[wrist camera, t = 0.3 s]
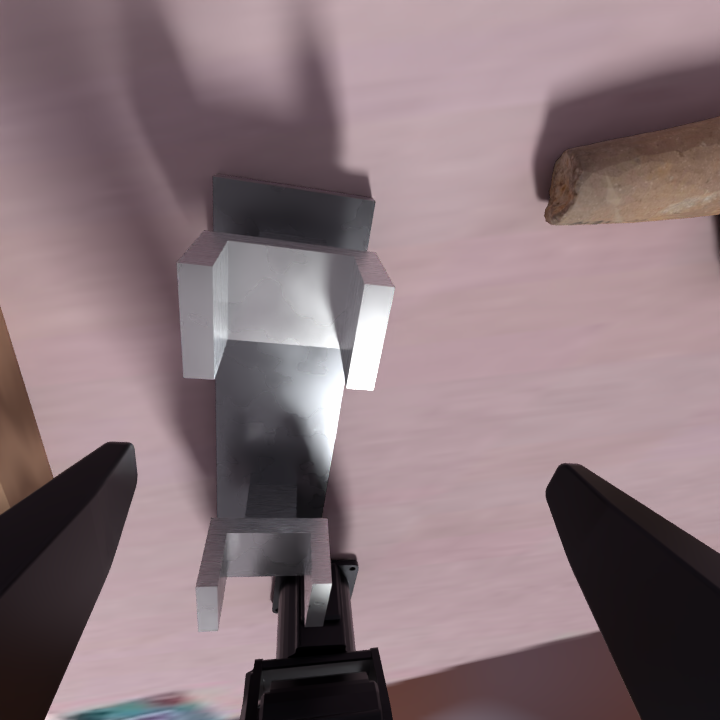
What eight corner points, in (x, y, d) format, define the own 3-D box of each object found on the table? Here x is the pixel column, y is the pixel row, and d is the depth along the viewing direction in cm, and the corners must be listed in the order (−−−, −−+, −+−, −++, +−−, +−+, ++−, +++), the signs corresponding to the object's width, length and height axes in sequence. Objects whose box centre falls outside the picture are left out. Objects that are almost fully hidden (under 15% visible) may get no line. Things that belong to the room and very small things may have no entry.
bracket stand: (318, 523, 30) (323, 640, 24) (220, 522, 29) (195, 646, 22) (372, 197, 19) (411, 241, 12) (217, 173, 18) (165, 207, 11)
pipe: (598, 123, 15) (584, 375, 18) (1033, 50, 15) (933, 311, 19) (517, 145, 21) (519, 332, 24) (831, 92, 21) (786, 284, 25)
